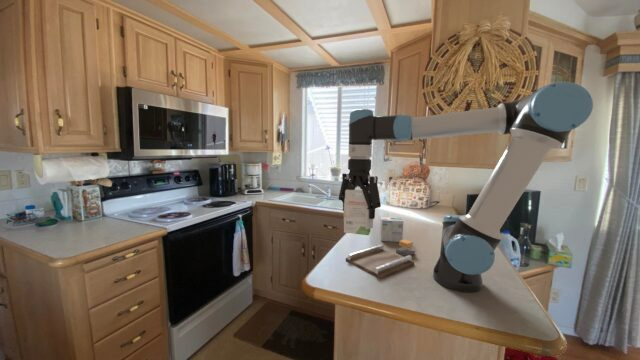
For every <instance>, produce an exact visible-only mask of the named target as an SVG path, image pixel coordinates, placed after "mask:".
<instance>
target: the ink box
mask: <svg viewBox="0 0 640 360" xmlns="http://www.w3.org/2000/svg"><path fill="white" fill-rule="evenodd" d="M368 192H369V191H368ZM357 193H358V194H359V195H354V194H357ZM367 208H368V205H367V202H366V200H365V197H364V194H363V191H362V190H361V189H360V190H359V189H355V190H345V199H344V211H343V221H344V222H343V233H346V234H353V235H354V234H355V235H362V236H369V235H370V233H371V230H372V228H370V229H365V228H366V209H367Z"/></svg>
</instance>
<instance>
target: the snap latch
mask: <svg viewBox="0 0 640 360" xmlns="http://www.w3.org/2000/svg"><path fill="white" fill-rule="evenodd" d="M413 243H414V241H412V240H408V239H402V240H401V241H399V242H398V246H400V247H405V248H409V249H410V248H412V247H413Z"/></svg>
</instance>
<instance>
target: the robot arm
mask: <svg viewBox="0 0 640 360" xmlns="http://www.w3.org/2000/svg"><path fill="white" fill-rule="evenodd" d="M593 108H594V101H593V98H592V96H591V94H590V92H589V91H588V90H587V89H586V88H585V87H583V86H582V85H580V84H578V83H576V82H572V81H558V82H555V83H549V84H546V85H544V86H542V87H540V88H539V89H538V90H536V91H535V92H533V93H531V94H529V95H527V96H524V97H523V98H522V97H521V98H520V99H516V100H512V101H506V102H501V103H499V104H498V105H497V106H496V107H495V106H494V107H489V108H480V109H473V110H465V111H464V110H463V111H458V112H457V111H456V112H450V113H440V114H433V115H426V116H425V115H424V116H417V117H412V116H411V115H408V114H407V115H405V114H397V115H395V114H394V115H392V114H391V115H374V111H373V110H372V109H368V108H360V109H359V108H358V109H353V110H352V111H350V113H349V121H348V122H349V123H348V160H347V162H348V163H347V169H348V170H349V172H346V173H345V172H344V173H342V178H341V179H342V182H341V186H340V189H339V196H338V201H341V202H342V212H344V199H345V190H356V188H357V187H359V188H360V190H362V191H363V194H364V197H365V200H366V202H367V205H368V208H367V209H366V228H365V229H370V228H371V229H373V228H374V219H375V217H376V209H378V208H381V207H382V205H381V199H380V192H379V187H378V180H379V177H378V176H373V175H371V174H370V173H371V172H370V171H371V170H372V160H371V158H372V156H373V155H372V153H373V152H372V150H373V146H372V145H373V141H377V140H378V141H391V142H393V143H400V142H403V141H405V142H406V141H412V140H415V141H416V140H423V139H424V140H425V139H435V138H446V137H455V136H466V135H467V136H468V135H475V134H477V135H478V134H485V133H486V134H487V133H489V134H490V133H498V134H499V135H501V136H502V135H511V136H512V137H511V140H510V141H509V143H508V145H507V146H506V148H505V150H504V152H502V155H501V157H500V159H499V160H498V162H497V164H496V165H495V167H494V169H493V171H492V172H491V174H490V175H489V177H488V179H487V180H486V183H485V184H484V186H483V188H482V189H481V191H480V193H479V194H478V196H477V197H476V199H475V201H474V203H473V205H471V206H472V207H470V209H469V211H468V213H467V214H464V215H459V214H445V215H444V216H443V221H442V222H441V223H442V232H441V242H440V255H439V257H438V260H437V261H436V263H435V266H434V268H433V272H432V278H433V279H434V280H435V282H437V283H438V284H440V285H442V286H443V287H445V288H448V289H450V290H454V291H458V292H463V293H464V292H465V293H474V292H479V291H481V290H482V288H483V278H482V274H484V273H486V272H487V271H490V269H491V268H492V267H493V266H494V263H495V261H496V260H495V258H496V253H495V250H496V248H497V247H498V246H499V244H500V242H501V241H502V239H503V237H502V233H501V228H502V227H503V225H504V224H505V222H506V221H507V219H508V217H509V216H510V214H511V213H512V212H513V210H514V208H515V206H516V204H517V203H518V201H519V200H520V198H521V197H522V195H523V194H524V192H525V190H526V189H527V187H528V186H529V184H530V183H531V182H532V181H531V180H532V179H533V178H534V176H535V175H536V173H537V171H538V170H539V168H540V166H541V165H542V163H543V162H544V160H545V159H546V157H547V155H548V154H549V152H550V151H551V150H553V149H556V148H560V147H562V146H563V145H564V143H565V140H567V138H568V137H569V135H570V134H571V132H572V130H575V129H577V128H578V127H580V126H581V125H582V124H584V123H585V122H586V121H587V120H588V119H589V118H590V116H591V114H592V112H593ZM368 191H369V192H368ZM343 223H344V220H343Z"/></svg>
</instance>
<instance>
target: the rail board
mask: <svg viewBox="0 0 640 360" xmlns="http://www.w3.org/2000/svg"><path fill="white" fill-rule="evenodd" d="M402 257H403V256H400V255H398V254H395V253H392V252H390V251H387V250H385V249H383V250H381V251H377V252H374V253H371V254H368V255H365V256H362V257H359V258H356V259H352V260H349V259H348V256H347V257H345V261H347V262H348V263H350V264H352V265H354V266H356V267H358V268H360V269H362V270H364V271H366V272H368V273H370V274H372V275H373V276H375V277H377V278H378V279H383V278H385V277H388V276H390V275H392V274H395V273H398V272H400V271H402V270H405V269H407V268H410V267H411V266H414V265H415V261H412V260H411V261H410V262H407V263H405V264H402V265H400V266H397V267H395V268H392V269H390V270H387V271H385V272H382V273H380V274H376V273H375V268H376V267H378V266H381V265H384V264H386V263H389V262H392V261H394V260H397V259H400V258H402Z"/></svg>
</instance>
